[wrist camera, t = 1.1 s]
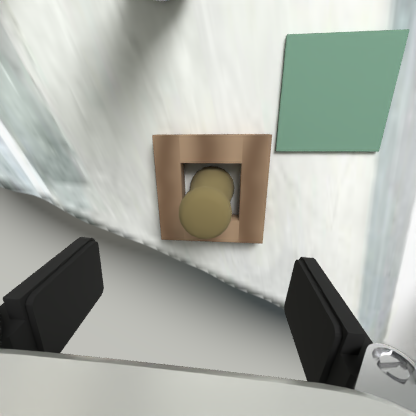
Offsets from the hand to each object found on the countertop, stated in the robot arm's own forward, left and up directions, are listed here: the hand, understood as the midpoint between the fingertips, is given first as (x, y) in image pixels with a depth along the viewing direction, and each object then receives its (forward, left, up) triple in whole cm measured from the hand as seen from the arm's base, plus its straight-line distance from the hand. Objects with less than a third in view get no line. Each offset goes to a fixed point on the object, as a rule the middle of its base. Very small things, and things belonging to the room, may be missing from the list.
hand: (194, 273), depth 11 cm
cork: (+1, +1, -21) cm, 21 cm away
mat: (-13, -10, -21) cm, 26 cm away
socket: (+1, +1, -21) cm, 21 cm away
